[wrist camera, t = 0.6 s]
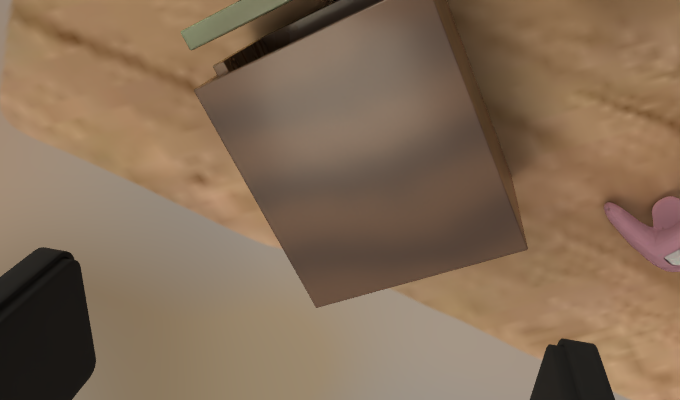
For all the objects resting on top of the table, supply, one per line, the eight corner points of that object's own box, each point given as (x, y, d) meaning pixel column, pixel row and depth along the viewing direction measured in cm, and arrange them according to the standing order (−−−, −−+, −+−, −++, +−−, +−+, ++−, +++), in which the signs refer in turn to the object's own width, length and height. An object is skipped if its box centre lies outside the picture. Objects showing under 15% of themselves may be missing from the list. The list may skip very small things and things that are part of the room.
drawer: (199, -56, 38) (134, -51, 30) (375, -159, 33) (352, -184, 26) (325, 192, 45) (298, 248, 37) (486, 135, 40) (494, 185, 32)
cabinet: (251, 52, 42) (193, 90, 32) (433, -35, 37) (426, -21, 27) (343, 232, 47) (316, 308, 38) (512, 177, 42) (528, 249, 33)
